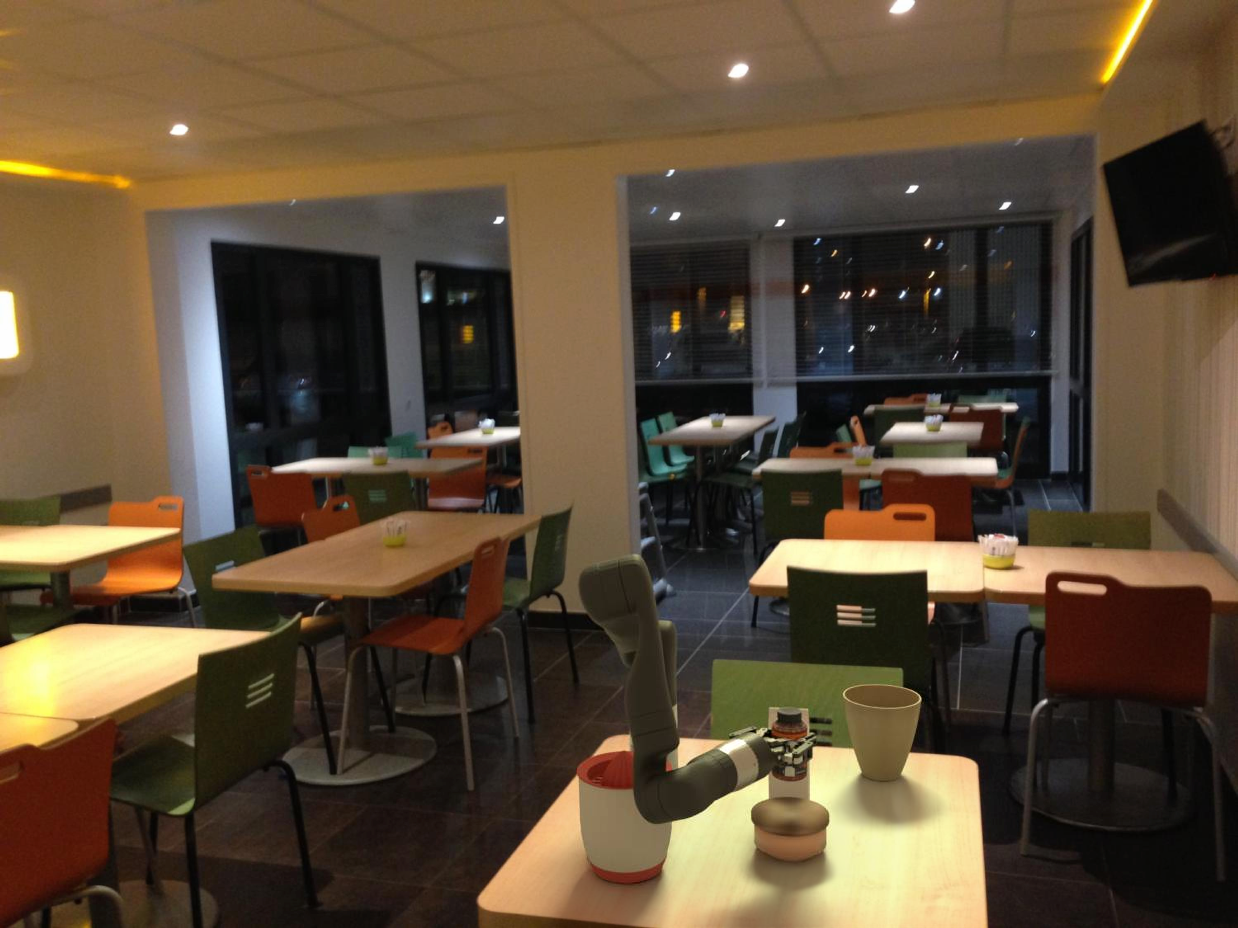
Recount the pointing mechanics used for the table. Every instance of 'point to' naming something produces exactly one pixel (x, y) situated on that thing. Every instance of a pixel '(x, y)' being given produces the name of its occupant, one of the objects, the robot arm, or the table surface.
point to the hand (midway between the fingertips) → (797, 733)
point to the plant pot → (881, 727)
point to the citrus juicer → (618, 821)
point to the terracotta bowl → (790, 845)
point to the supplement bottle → (794, 729)
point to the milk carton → (784, 787)
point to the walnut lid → (790, 816)
